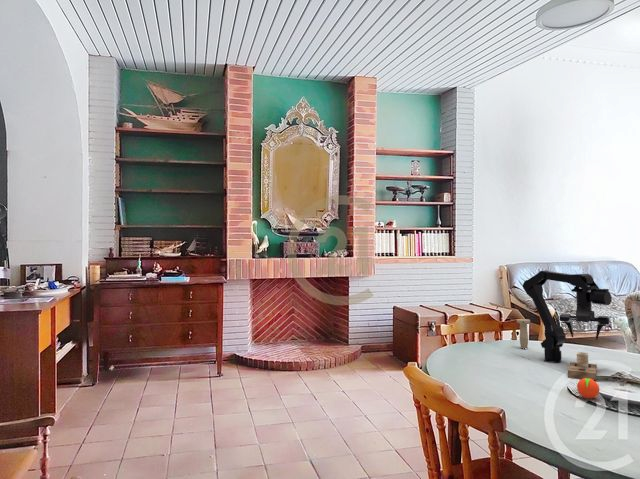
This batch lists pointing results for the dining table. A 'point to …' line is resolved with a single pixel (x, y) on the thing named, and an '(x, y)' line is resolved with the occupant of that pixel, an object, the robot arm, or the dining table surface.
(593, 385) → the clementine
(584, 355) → the peg
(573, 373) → the socket block
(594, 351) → the dining table surface
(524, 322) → the handle
